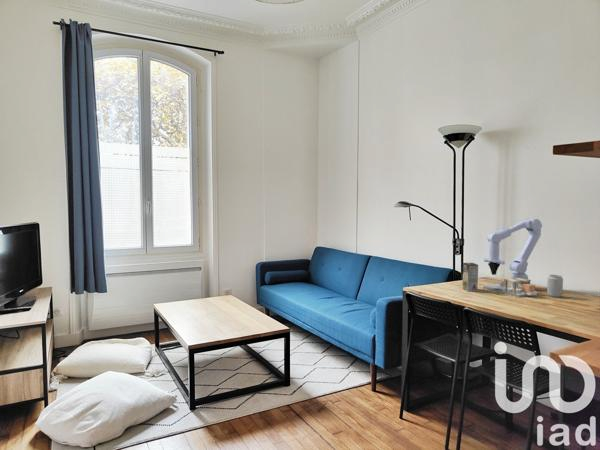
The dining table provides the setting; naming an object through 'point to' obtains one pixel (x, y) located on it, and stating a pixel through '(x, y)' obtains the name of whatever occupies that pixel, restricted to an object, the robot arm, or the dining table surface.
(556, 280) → the can
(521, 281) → the tunnel
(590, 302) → the dining table surface
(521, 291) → the sled
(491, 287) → the track
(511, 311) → the dining table surface
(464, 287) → the coffee box
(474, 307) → the dining table surface
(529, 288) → the block
